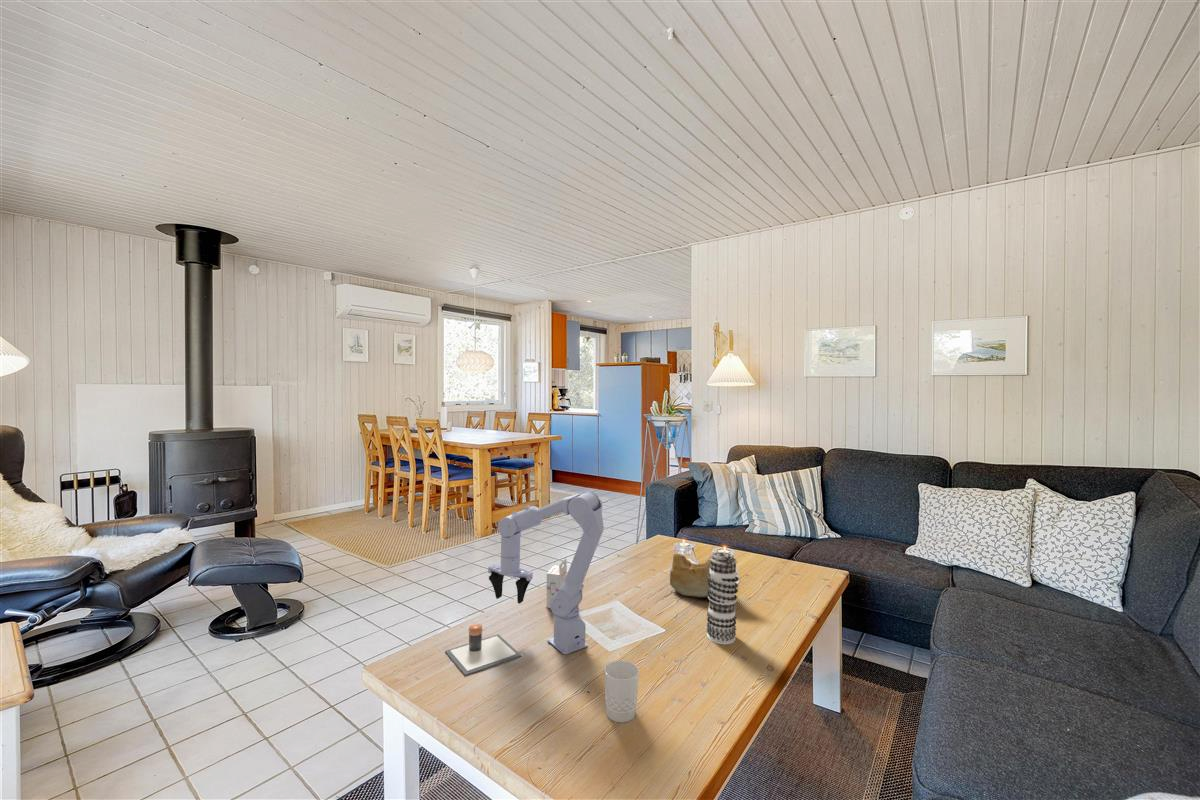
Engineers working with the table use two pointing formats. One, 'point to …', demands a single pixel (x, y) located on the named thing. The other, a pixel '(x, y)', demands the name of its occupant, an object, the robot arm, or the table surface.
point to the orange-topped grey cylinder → (475, 637)
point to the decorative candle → (722, 598)
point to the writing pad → (482, 655)
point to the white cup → (621, 690)
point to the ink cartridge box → (555, 580)
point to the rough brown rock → (689, 577)
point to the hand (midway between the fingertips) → (509, 599)
